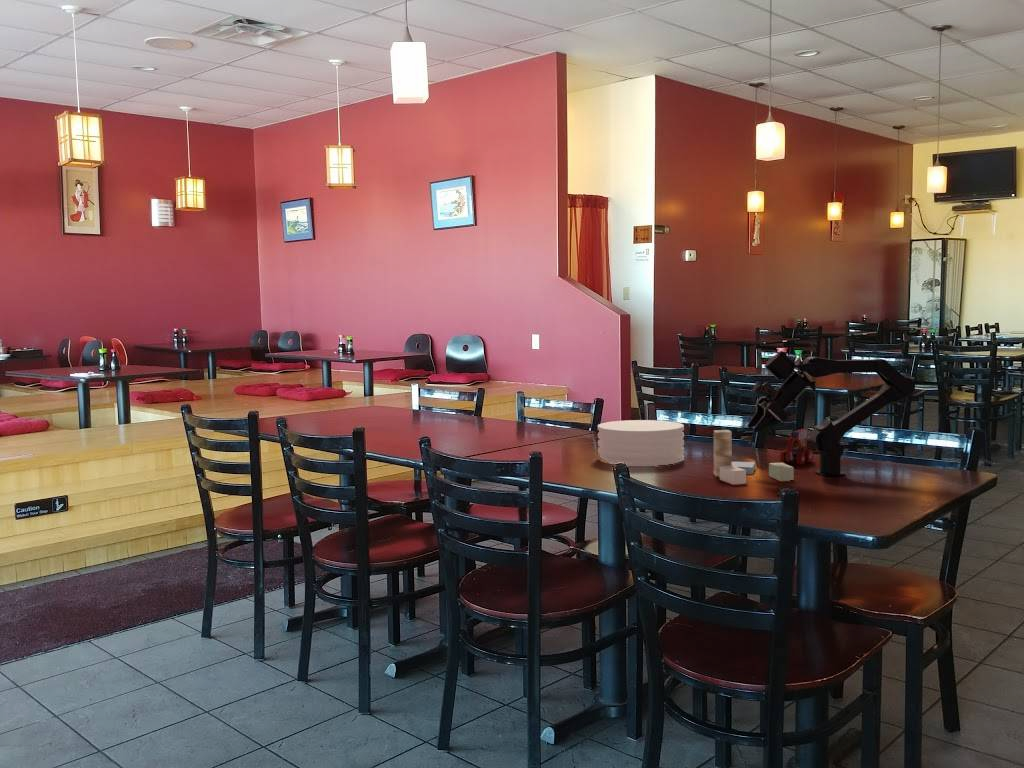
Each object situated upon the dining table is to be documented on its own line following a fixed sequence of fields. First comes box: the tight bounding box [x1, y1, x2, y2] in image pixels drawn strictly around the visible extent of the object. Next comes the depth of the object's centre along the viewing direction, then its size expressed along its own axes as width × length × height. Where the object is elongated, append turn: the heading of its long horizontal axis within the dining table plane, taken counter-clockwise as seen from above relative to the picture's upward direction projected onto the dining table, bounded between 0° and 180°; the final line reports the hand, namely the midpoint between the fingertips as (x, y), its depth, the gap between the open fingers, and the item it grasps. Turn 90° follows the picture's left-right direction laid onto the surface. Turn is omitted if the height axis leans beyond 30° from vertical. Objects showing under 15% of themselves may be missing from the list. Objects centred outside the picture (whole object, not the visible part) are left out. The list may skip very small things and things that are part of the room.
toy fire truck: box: [779, 428, 814, 465], centre depth 278 cm, size 7×12×10 cm, turn 136°
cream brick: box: [719, 466, 747, 486], centre depth 250 cm, size 8×4×4 cm, turn 14°
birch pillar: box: [713, 429, 733, 477], centre depth 260 cm, size 4×4×13 cm
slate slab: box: [732, 461, 756, 475], centre depth 266 cm, size 9×9×2 cm
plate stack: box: [597, 419, 685, 467], centre depth 290 cm, size 28×28×12 cm
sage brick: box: [768, 462, 795, 482], centre depth 253 cm, size 8×4×4 cm, turn 5°
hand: (751, 429), depth 258 cm, fingers open, 9 cm apart
